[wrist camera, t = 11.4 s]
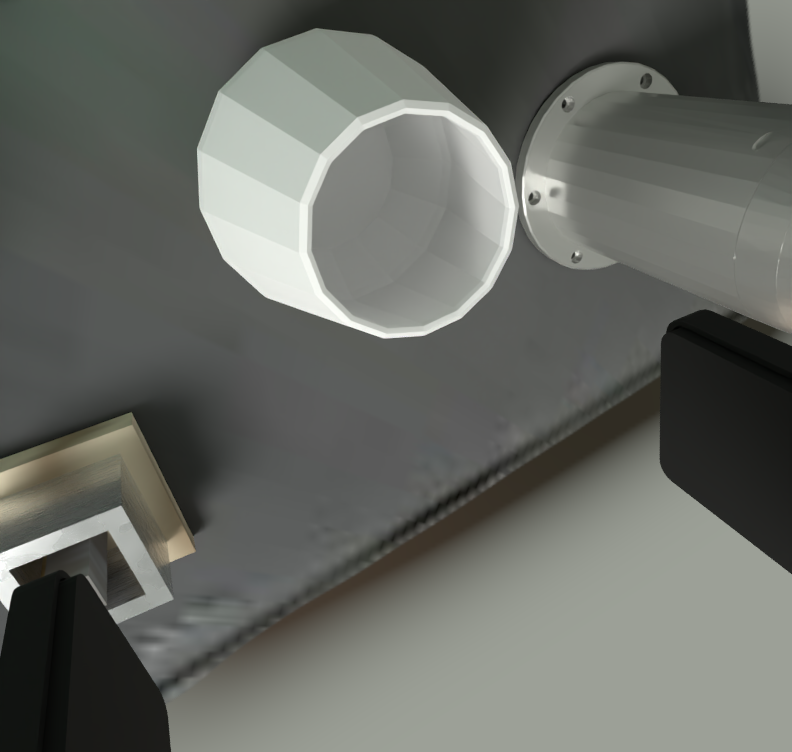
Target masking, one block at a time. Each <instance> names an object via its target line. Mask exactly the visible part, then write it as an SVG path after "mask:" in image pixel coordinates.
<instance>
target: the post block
mask: <svg viewBox="0 0 792 752" xmlns="http://www.w3.org/2000/svg"><path fill="white" fill-rule="evenodd" d="M117 454H121V456H122V458H123V460H124V462H125V464H126V465H127V467H128V469H129V471H130V473H131V475H132V477H133V479H134V480H135V482H136V484H137V486H138V488H139V490H140V492H141V493H142V495H143V497H144V499H145V501H146V503H147V505H148V507H149V508H150V510H151V512H152V514H153V516H154V518H155V520H156V522H157V523H158V525H159V527H160V529H161V531H162V533H163V535H164V537H165V538H166V540H167V544H168V553H169V561H170V562H172V561H174V560H176V559H179V558H181V557H184V556H186V555H188V554H191V553H193V552H196V550H195V544H194V538H193V535H192V533H191V531H190V529H189V527H188V525H187V523H186V521H185V519H184V517H183V515H182V513H181V511H180V509H179V507H178V505H177V503H176V501H175V499H174V497H173V495H172V493H171V491H170V489H169V487H168V485H167V483H166V481H165V479H164V477H163V475H162V473H161V471H160V469H159V467H158V465H157V463H156V460H155V458H154V456H153V454H152V452H151V450H150V448H149V446H148V444H147V442H146V440H145V438H144V436H143V434H142V432H141V430H140V428H139V426H138V424H137V422H136V420H135V418H134V416H133V414H132V412H130V413H127V414H125V415H122V416H119V417H116V418H114V419H111V420H108V421H105V422H102V423H100V424H97V425H94V426H91V427H89V428H86V429H83V430H80V431H77V432H75V433H72V434H69V435H66V436H64V437H61V438H58V439H55V440H52V441H50V442H47V443H44V444H41V445H39V446H36V447H33V448H30V449H27V450H25V451H22V452H19V453H16V454H14V455H11V456H8V457H5V458H2V459H0V498H3V497H5V496H8V495H11V494H13V493H16V492H19V491H21V490H24V489H27V488H29V487H32V486H35V485H37V484H40V483H43V482H45V481H48V480H51V479H53V478H56V477H59V476H61V475H64V474H67V473H69V472H72V471H75V470H77V469H80V468H83V467H85V466H88V465H91V464H93V463H96V462H99V461H101V460H104V459H106V458H109V457H112V456H114V455H117ZM115 547H117V544H116V542H115V541H114V539H113V537H112V536H111V534H110V532H109V531H106V532H103V533H101V534H98V535H96V536H93V537H91V538H88V539H86V540H83V541H81V542H78V543H76V544H73V545H71V546H68V547H66V548H63V549H61V550H58V551H56V552H53V553H51V554H48V555H46V556H43V562H42V570H41V577H43V576H46V575H48V574H50V573H53V572H55V571H58V570H63V571H65V572H66V573H67V574H68V575H69V576H70V577H72V576H75V575H77V574H83V575H84V576H85V577H86V578H87V579H88V581H89V582H90V584H91V585H92V587H93V589H94V590H95V592H96V593H97V595H98V596H99V598H100V599H101V601H102V602H103V604H104V606H105V605H107V550H110V549H112V548H115ZM41 577H40V578H41Z"/></svg>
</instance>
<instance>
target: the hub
mask: <svg viewBox="0 0 792 752" xmlns="http://www.w3.org/2000/svg"><path fill="white" fill-rule="evenodd" d="M106 531H109V532H110V534H111V536H112V537H113V539H114V541H115V542H116V544H117V547H115V548H112V549H110V550H107V605H105V607H106V609H107V610H108V612H109V613H110V615H111V616H112V618H113V619H114V621H115V623H116V624H118V623H120V622H122V621H124V620H127V619H129V618H131V617H134V616H136V615H138V614H141V613H143V612H145V611H148V610H150V609H152V608H154V607H157V606H159V605H161V604H164V603H166V602H168V601H171V600H173V599H174V596H173V587H172V578H171V570H170V561H169V553H168V544H167V540H166V538H165V537H164V535H163V533H162V531H161V529H160V527H159V525H158V523H157V522H156V520H155V518H154V516H153V514H152V512H151V510H150V508H149V507H148V505H147V503H146V501H145V499H144V497H143V495H142V493H141V492H140V490H139V488H138V486H137V484H136V482H135V480H134V479H133V477H132V475H131V473H130V471H129V469H128V467H127V465H126V464H125V462H124V460H123V458H122V456H121V454H117V455H114V456H112V457H109V458H106V459H104V460H101V461H99V462H96V463H93V464H91V465H88V466H85V467H83V468H80V469H77V470H75V471H72V472H69V473H67V474H64V475H61V476H59V477H56V478H53V479H51V480H48V481H45V482H43V483H40V484H37V485H35V486H32V487H29V488H27V489H24V490H21V491H19V492H16V493H13V494H11V495H8V496H5V497H3V498H0V601H1V602H2V603H3V604H4V606H5V607H6V608H7V610H8V611H9V607H10V601H11V596H12V593H13V590H14V589H15V588H17V587H18V586H21V585H23V584H26V583H28V582H31V581H33V580H36V579H38V578H40V577H41V570H42V562H43V556H46V555H48V554H51V553H53V552H56V551H58V550H61V549H63V548H66V547H68V546H71V545H73V544H76V543H78V542H81V541H83V540H86V539H88V538H91V537H93V536H96V535H98V534H101V533H103V532H106Z"/></svg>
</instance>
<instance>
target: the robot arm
mask: <svg viewBox="0 0 792 752" xmlns="http://www.w3.org/2000/svg"><path fill="white" fill-rule="evenodd" d="M515 188H516V193H517V198H518V203H519V208H518V214H519V218H520V222H521V224H522V226H523V228H524V230H525V232H526V234H527V237H528V238H529V239H530V240H531V242H532V243H533V244H534V246H535V247H536V248H537V249H538V250H539V251H540V252H541V253H543V254H544V255H545V256H546V257H548V258H549V259H551V260H553V261H555V262H557V263H559V264H561V265H564V266H567V267H569V268H573V269H583V270H592V269H599V268H605V267H607V266H610V265H613V264H615V263H618V262H620V263H622V264H624V265H627V266H629V267H632V268H634V269H636V270H639V271H641V272H643V273H646V274H648V275H650V276H653V277H655V278H658V279H660V280H662V281H665V282H667V283H669V284H672V285H674V286H676V287H679V288H681V289H684V290H686V291H688V292H691V293H693V294H695V295H698V296H700V297H703V298H705V299H707V300H710V301H712V302H714V303H717V304H719V305H721V306H724V307H726V308H729V309H731V310H733V311H736V312H738V313H740V314H743V315H745V316H748V317H750V318H753V319H755V320H757V321H760V322H763V323H765V324H767V325H770V326H772V327H775V328H777V329H780V330H782V331H785V332H788V333H791V334H792V105H789V104H777V103H765V102H753V101H741V100H729V99H717V98H705V97H694V96H682V95H679V94H678V92H677V91H676V89H675V88H674V87H673V86H672V84H671V83H670V82H669V81H668V79H667V78H666V77H664V76H663V75H662V74H660V73H659V72H658V71H656V70H655V69H653V68H650V67H648V66H645V65H643V64H640V63H632V62H605V63H602V64H598V65H595V66H591V67H588V68H586V69H584V70H583V71H581V72H579V73H577V74H575V75H573V76H572V77H570V78H569V79H568V80H567V81H566V82H564V83H563V84H562V85H561V86H559V87H558V88H557V89H556V90H555V91H554V92H553V93H552V95H551V96H550V97H549V98H548V99H547V100H546V102H545V103H544V104H543V105H542V107H541V108H540V110H539V111H538V113H537V115H536V116H535V118H534V119H533V121H532V123H531V125H530V127H529V129H528V132H527V134H526V136H525V139H524V141H523V143H522V147H521V151H520V155H519V158H518V162H517V169H516V179H515ZM660 396H661V397H660V398H661V399H660V464H661V467H662V469H663V471H664V473H665V474H666V476H667V477H668V478H669V479H670V480H671V481H672V482H673V483H675V484H676V485H677V486H679V487H680V488H681V489H683V490H684V491H685V492H686V493H688V494H689V495H690V496H691V497H693V498H694V499H696V500H697V501H698V502H699V503H700V504H702V505H703V506H704V507H706V508H707V509H708V510H710V511H711V512H712V513H713V514H715V515H716V516H717V517H719V518H720V519H721V520H723V521H724V522H725V523H726V524H728V525H729V526H730V527H731V528H733V529H734V530H735V531H737V532H738V533H739V534H741V535H742V536H743V537H745V538H746V539H747V540H748V541H750V542H751V543H752V544H753V545H755V546H756V547H758V548H759V549H760V550H761V551H763V552H764V553H765V554H766V555H768V556H769V557H770V558H772V559H773V560H774V561H775V562H777V563H778V564H779V565H781V566H782V567H783V568H785V569H786V570H787V571H788V572H790V573H791V574H792V346H790V345H788V344H786V343H783V342H781V341H779V340H776V339H774V338H772V337H770V336H767V335H765V334H763V333H761V332H758V331H756V330H754V329H751V328H749V327H747V326H744V325H742V324H740V323H738V322H735V321H733V320H731V319H729V318H726V317H724V316H722V315H720V314H717V313H715V312H713V311H710V310H706V309H705V310H699V311H697V312H694V313H692V314H689V315H687V316H684V317H682V318H679V319H677V320H675V321H673V322H671V323H670V324H669V326H668V328H667V331H666V334H665V335H664V336H663V338H662V341H661V395H660ZM0 752H171V747H170V735H169V725H168V715H167V710H166V706H165V702H164V699H163V697H162V694H161V693H160V691H159V689H158V687H157V686H156V684H155V683H154V681H153V680H152V678H151V677H150V675H149V673H148V672H147V670H146V669H145V667H144V666H143V664H142V663H141V661H140V660H139V658H138V656H137V655H136V653H135V652H134V650H133V649H132V647H131V646H130V644H129V643H128V641H127V639H126V638H125V636H124V635H123V633H122V632H121V630H120V629H119V627H118V626H117V624H116V623H115V621H114V619H113V618H112V616H111V615H110V613H109V612H108V610H107V609H106V607H105V606H104V604H103V602H102V601H101V599H100V598H99V596H98V595H97V593H96V592H95V590H94V589H93V587H92V585H91V584H90V582H89V581H88V579H87V578H86V577H85V576H84V575H83V574H77V575H75V576H72V577H70V576H69V575H68V574H67V573H66V572H65V571H63V570H58V571H55V572H53V573H50V574H48V575H46V576H43V577H41V578H38V579H36V580H33V581H31V582H28V583H26V584H23V585H21V586H18V587H17V588H15V589H14V590H13V593H12V596H11V601H10V607H9V612H8V618H7V623H6V629H5V634H4V640H3V645H2V650H1V656H0Z"/></svg>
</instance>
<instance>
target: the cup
mask: <svg viewBox="0 0 792 752" xmlns="http://www.w3.org/2000/svg"><path fill="white" fill-rule="evenodd" d="M197 159H198V182H199V205H200V210H201V212H202V214H203V216H204V219H205V221H206V223H207V225H208V227H209V229H210V232H211V234H212V236H213V238H214V240H215V242H216V244H217V247H218V249H219V251H220V253H221V255H222V257H223V259H224V260H225V261H226V262H227V263H228V264H229V265H230V266H232V267H233V268H234V269H235V270H236V271H237V272H238V273H239V274H240V275H241V276H242V277H244V278H245V279H246V280H247V281H248V282H249V283H250V284H251V285H252V286H253V287H255V288H256V289H257V290H258V291H259V292H260V293H261V294H262V295H264V296H265V297H266V298H269V299H272V300H275V301H278V302H281V303H283V304H286V305H289V306H292V307H295V308H297V309H300V310H303V311H306V312H309V313H312V314H314V315H317V316H320V317H323V318H326V319H329V320H332V321H335V322H338V323H341V324H343V325H346V326H349V327H352V328H355V329H358V330H361V331H364V332H367V333H370V334H373V335H375V336H378V337H381V338H397V337H412V336H424V335H426V334H429V333H431V332H433V331H435V330H437V329H439V328H441V327H443V326H446V325H448V324H450V323H452V322H454V321H456V320H458V319H461V318H462V317H463V316H464V315H465V314H466V313H467V312H468V311H469V310H470V309H471V308H472V307H473V306H474V305H475V304H476V303H477V302H478V301H479V300H480V299H481V298H482V297H483V296H484V295H485V294H486V293H487V292H488V291H490V290H491V289H492V287H493V285H494V283H495V281H496V279H497V277H498V275H499V273H500V271H501V270H502V268H503V266H504V264H505V262H506V260H507V258H508V256H509V254H510V252H511V250H512V246H513V240H514V233H515V227H516V221H517V215H518V208H519V203H518V198H517V193H516V188H515V182H514V177H513V172H512V166H511V162H510V160H509V159H508V157H507V156H506V154H505V153H504V151H503V150H502V148H501V147H500V145H499V144H498V142H497V141H496V139H495V138H494V136H493V134H492V133H491V131H490V130H489V128H488V127H487V125H485V124H484V123H483V122H482V121H481V120H480V119H479V118H478V117H477V116H476V115H475V114H474V113H473V112H472V111H471V110H469V109H468V108H467V107H466V106H465V105H464V104H463V103H462V102H461V101H460V100H459V99H458V98H457V97H456V96H455V95H454V94H452V93H451V92H450V91H449V90H448V89H447V88H446V87H445V86H444V85H443V84H442V83H441V82H440V81H439V80H438V79H437V78H435V77H434V76H433V75H432V74H431V73H430V72H429V71H428V70H427V69H426V68H425V67H424V66H422V65H421V64H419V63H418V62H416V61H414V60H413V59H411V58H410V57H408V56H407V55H405V54H403V53H402V52H400V51H399V50H397V49H395V48H394V47H392V46H391V45H389V44H387V43H386V42H384V41H383V40H381V39H379V38H378V37H376V36H374V35H371V34H362V33H353V32H344V31H336V30H327V29H318V28H315V29H312V30H310V31H307V32H304V33H301V34H299V35H296V36H293V37H290V38H287V39H285V40H282V41H279V42H276V43H274V44H271V45H268V46H265V47H263V48H261V49H260V50H259V51H258V52H257V53H256V54H255V55H254V56H253V57H252V58H251V59H250V60H249V61H248V62H247V63H246V64H245V65H244V66H243V67H242V68H241V69H240V70H239V71H238V72H237V73H236V74H235V75H234V76H233V77H232V78H231V79H230V80H229V81H228V82H227V83H226V84H225V85H224V86H223V87H222V88H221V89H220V90H219V91H218V94H217V97H216V99H215V102H214V105H213V107H212V110H211V113H210V115H209V118H208V121H207V123H206V126H205V129H204V131H203V134H202V137H201V139H200V142H199V145H198V147H197Z"/></svg>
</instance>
